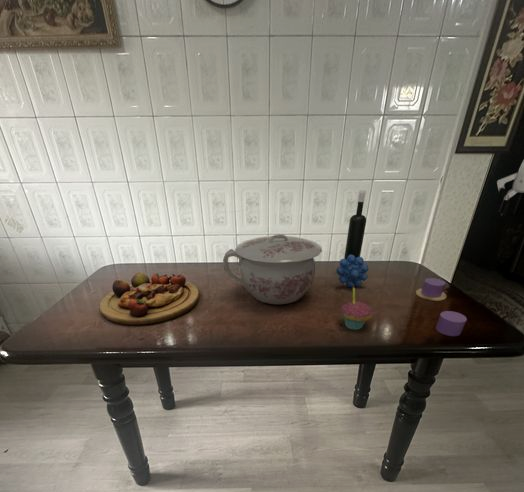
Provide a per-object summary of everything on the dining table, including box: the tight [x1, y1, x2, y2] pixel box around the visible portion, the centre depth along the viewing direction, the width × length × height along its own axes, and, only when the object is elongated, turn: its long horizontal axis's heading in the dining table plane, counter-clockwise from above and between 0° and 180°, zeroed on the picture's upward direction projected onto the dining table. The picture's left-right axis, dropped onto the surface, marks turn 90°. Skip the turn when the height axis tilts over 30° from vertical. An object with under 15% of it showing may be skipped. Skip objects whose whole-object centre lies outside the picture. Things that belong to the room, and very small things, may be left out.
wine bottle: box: [343, 189, 367, 260], centre depth 111 cm, size 6×6×30 cm
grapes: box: [335, 255, 369, 289], centre depth 105 cm, size 12×7×12 cm, turn 93°
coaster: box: [415, 288, 448, 302], centre depth 103 cm, size 10×10×1 cm
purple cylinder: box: [421, 277, 446, 298], centre depth 102 cm, size 6×6×4 cm
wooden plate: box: [98, 271, 201, 325], centre depth 99 cm, size 32×32×8 cm
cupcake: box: [340, 285, 373, 331], centre depth 84 cm, size 9×8×12 cm
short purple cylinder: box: [435, 310, 468, 337], centre depth 83 cm, size 6×6×4 cm
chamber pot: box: [222, 233, 323, 305], centre depth 98 cm, size 28×28×21 cm
